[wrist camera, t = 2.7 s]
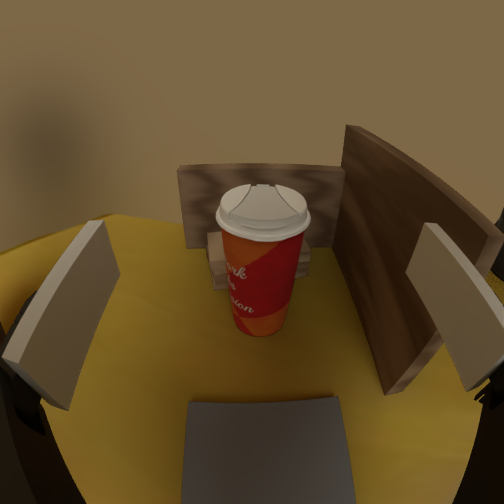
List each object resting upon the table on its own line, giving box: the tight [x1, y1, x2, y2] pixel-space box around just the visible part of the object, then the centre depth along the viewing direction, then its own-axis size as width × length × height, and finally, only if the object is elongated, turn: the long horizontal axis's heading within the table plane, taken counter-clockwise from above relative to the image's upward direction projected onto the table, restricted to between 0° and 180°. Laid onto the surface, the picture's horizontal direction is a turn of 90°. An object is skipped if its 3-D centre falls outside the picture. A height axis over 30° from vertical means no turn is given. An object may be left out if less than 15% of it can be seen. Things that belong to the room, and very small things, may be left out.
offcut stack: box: [206, 232, 311, 290], centre depth 36 cm, size 12×7×4 cm, turn 103°
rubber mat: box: [181, 396, 356, 504], centre depth 16 cm, size 13×13×1 cm
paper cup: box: [216, 184, 311, 337], centre depth 26 cm, size 8×8×14 cm
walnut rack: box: [177, 125, 504, 395], centre depth 26 cm, size 24×26×18 cm
